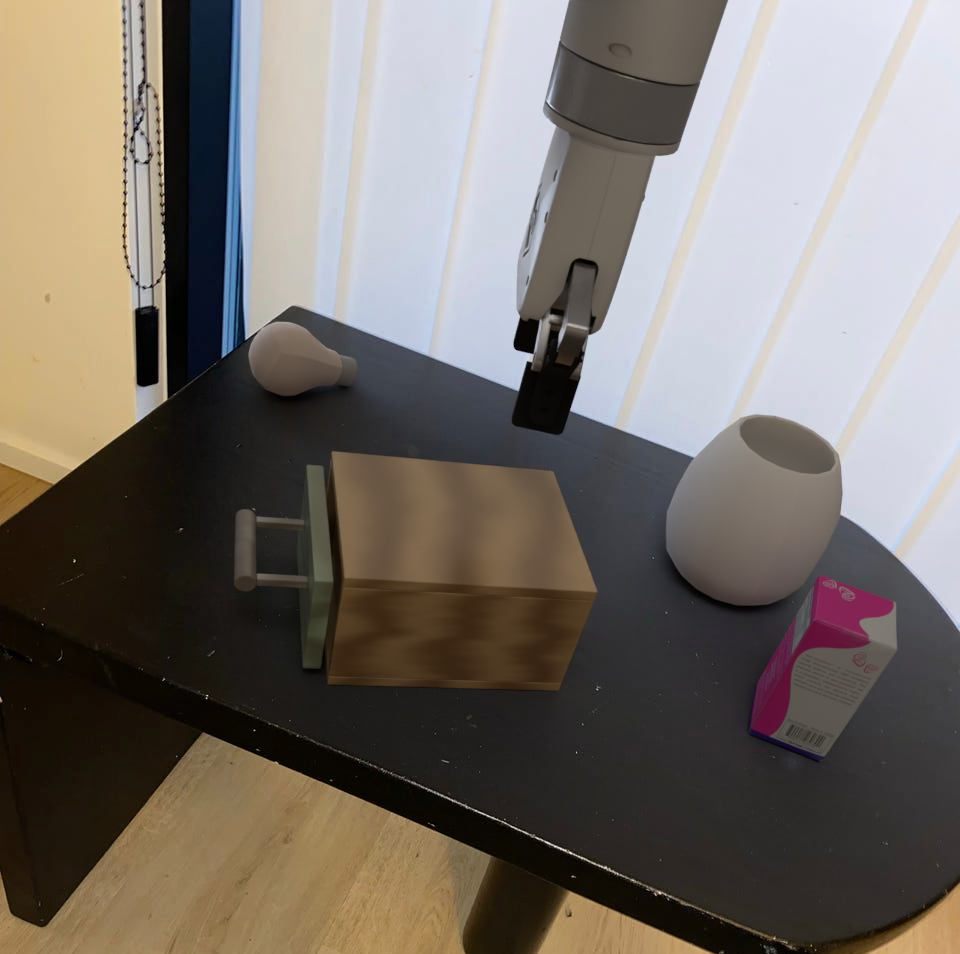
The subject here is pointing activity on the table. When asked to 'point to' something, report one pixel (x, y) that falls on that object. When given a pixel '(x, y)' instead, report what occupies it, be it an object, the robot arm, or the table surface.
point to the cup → (755, 510)
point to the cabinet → (452, 575)
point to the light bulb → (296, 361)
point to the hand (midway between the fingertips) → (535, 388)
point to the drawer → (298, 562)
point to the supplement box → (823, 667)
